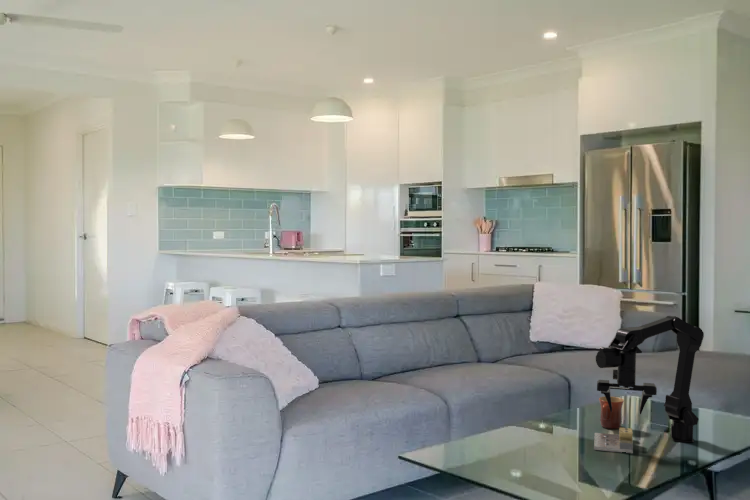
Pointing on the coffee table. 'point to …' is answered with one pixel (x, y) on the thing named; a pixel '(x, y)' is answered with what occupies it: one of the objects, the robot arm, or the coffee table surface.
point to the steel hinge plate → (612, 443)
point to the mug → (611, 413)
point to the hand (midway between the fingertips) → (625, 412)
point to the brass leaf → (625, 434)
